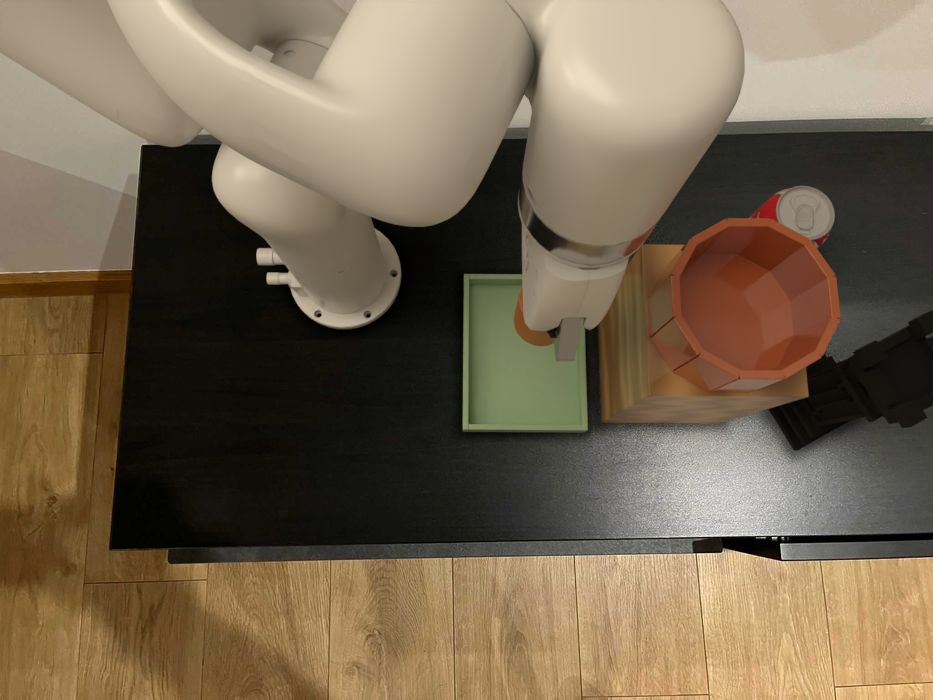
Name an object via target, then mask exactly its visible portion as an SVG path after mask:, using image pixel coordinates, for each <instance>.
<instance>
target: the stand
mask: <svg viewBox="0 0 933 700" xmlns="http://www.w3.org/2000/svg"><path fill="white" fill-rule="evenodd" d="M684 245H685V244H644V243H643V245H642V246H641V247H640V248H639V249H638V250H637V251H636V252H635V254H634V255H633V256H632V257H631V259H629V261H628V264H627V267H626V270H625V273H624V276H623V279H622V281H621V284H620V286H619V289H618V291H617V294H616V296H615V298H614V300H613V302H612V304H611V306H610V308H609V310H608V312H607V313H606V315H605V317H604V318H603V319H602V321H601V322H600V323H599V324H598V325H597V340H598V341H597V343H598V345H597V346H598V364H599V365H598V369H599V398H600V399H599V401H600V422H601V423H602V424H603V423H604V424H605V423H606V424H610V423H611V424H722V423H726V422H729V421H733V420H736V419H739V418H742V417H746V416H749V415H752V414H757V413H760V412H763V411H767V410H769V408H773V407H776V406H779V405H783V404H786V403H789V402H793V401H796V400H800V399H803V398H806V397H809V394H808V384H807V373H806V367H805V368H803V369H802V370H800V371H798V372H797V373H795V374H793V375H792V376H790V377H788V378H787V379H784V380H781V381H779V382H776V383H773V384H771V385H768V386H765V387H763V388H760V389H757V390H755V391H752V392H748V393H728V392H710V391H708V392H707V391H705V390H703V389H702V388H700V387H698V386H696V385H695V384H693V383H691V382H689V381H687V380H686V379H684V378H682V377H680V376H678V375H677V374H675V373H673V371H674V370H673V371H671V369H670V368H669V366H668V365H667V363H666V362H665V360H664V358H663V357H662V355H661V354H660V352H659V351H658V349H657V348H656V346H655V344H654V343H653V341H652V340H651V337H650V327H649V308H648V300H649V296H650V294H651V292H652V291H653V289H654V287H655V285H656V283H657V281H658V280H659V278H660V276H661V274H662V272H663V271H664V269H665V267H666V266H667V265H668V264H669V263H670V261H671V260H672V259H673V258H674V257H675V256H676V254H677V253H678V252H679V251H680V250H681V249H682V248H683V246H684Z"/></svg>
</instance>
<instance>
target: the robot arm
mask: <svg viewBox="0 0 933 700" xmlns="http://www.w3.org/2000/svg"><path fill="white" fill-rule="evenodd" d="M255 46H257V47H259V48H262V49H265V50H266V51H268V52H269V53H271V54H273V55H272V57H271V58H270V59H269V60H268V59H265V58H263V57H261V56H259V55H257V54H255V53H254V52H253V49H254V48H255ZM0 54H2V55H4V56H5V57H6V58H8V59H10V60H11V61H13V62H14V63H16V64H18V65H19V66H21V67H22V68H24V69H26V70H28V71H29V72H31V73H32V74H34V75H35V76H37V77H39V78H40V79H42V80H44V81H46V82H47V83H48V84H50V85H52V86H53V87H55V88H56V89H58V90H59V91H62V92H63V93H64V94H66V95H68V96H69V97H71V98H73V99H74V100H76V101H78V102H80V103H81V104H83V105H84V106H86V107H87V108H89V109H91V110H92V111H94V112H96V113H97V114H99V115H101V116H103V117H104V118H106V119H107V120H109V121H111V122H113V123H114V124H115V125H117V126H119V127H121V128H122V129H125V130H126V131H128V132H130V133H132V134H133V135H135V136H137V137H139V138H142V139H143V140H146V141H147V142H150V143H153V144H155V145H158V146H162V147H168V148H178V147H182V146H184V145H186V144H188V143H190V142H192V141H193V140H194V139H195V138H196V137H197V136H198V135H199V134H201V132H202V131H203V130H204V131H206V132H207V133H208V134H210V135H211V136H212V137H214V138H215V139H217V140H218V141H219V142H221V144H220V147H219V149H218V151H217V154H216V157H215V159H214V162H213V166H212V174H211V183H212V189H213V192H214V195H215V196H216V198H217V200H218V202H219V203H220V204H221V206H222V207H223V208H224V209H225V210H226V211H227V212H228V213H229V214H230V215H231V216H232V217H233V218H235V219H236V220H237V221H238V222H239V223H241V224H243V225H244V226H246V227H247V228H248V229H250V230H251V231H253V232H255V233H256V234H257V235H259V236H260V237H261V238H262V239H264V240H265V242H266V243H267V244H268V245H269V246H270V247H257V249H256V255H255V256H256V263H257V266H273V267H274V266H276V265H277V266H279V265H280V266H281V265H282V266H285V267H286V269H287V270H288V272H277V271H276V272H271V271H269V272H268V271H267V273H266V284H267V285H268V286H271V285H273V286H278V285H279V286H281V285H288V287H289V288H290V292H291V295H292V297H293V299H294V301H295V303H296V304H297V306H298V307H299V309H300V310H301V312H303V313H304V315H306V316H307V317H308V318H309V319H311V320H312V321H314V322H316V323H317V324H319V325H321V326H324V327H327V328H329V329H334V330H335V329H336V330H353V329H359V328H362V327H365V326H367V325H369V324H371V323H373V322H375V321H377V320H378V319H380V318H381V317H383V315H385V313H386V312H388V310H389V309H390V308H391V306H392V305H393V304H394V302H395V301H396V297H397V296H398V294H399V291H400V287H401V283H402V266H401V261H400V258H399V255H398V253H397V251H396V248H395V246H394V245H393V244H392V242H391V241H390V239H389V238H388V237H386V236H385V234H384V233H382V232H381V231H380V230H378V229H377V228H375V226H374V222H373V220H372V218H373V219H376V220H379V221H381V222H383V223H388V224H391V225H395V226H396V225H397V226H402V227H409V228H426V227H430V226H435V225H438V224H440V223H443V222H446V221H448V220H450V219H452V217H454V216H456V215H458V213H459V212H460V211H461V210H462V209H464V207H466V205H467V204H468V203H469V201H470V200H471V199H472V197H473V196H474V195H475V193H476V192H477V189H478V188H479V186H480V184H481V183H482V181H483V179H484V178H485V176H486V174H487V171H488V170H489V167H490V166H491V163H492V162H493V160H494V157H495V155H496V154H497V151H498V149H499V147H500V145H501V143H502V141H503V139H504V137H505V135H506V133H507V131H508V129H509V127H510V125H511V123H512V121H513V119H514V116H515V115H516V112H517V111H518V108H519V106H520V105H521V102H522V100H523V99H524V96H525V97H526V99H528V100H527V101H528V102H529V105H530V108H531V114H530V120H529V126H528V133H527V139H526V144H525V151H524V157H523V162H522V170H521V176H520V182H519V189H518V194H517V208H518V215H519V218H520V222H521V274H522V289H523V315H524V322H525V324H526V325H527V327H528V328H529V329H531V330H536V331H547V334H549V336H550V338H554V350H555V358H556V361H575V356H576V350H577V344H578V338H579V332H580V326H581V320H582V318H584V322H583V327H585V330H587V331H592V329H595V328H596V327H598V324H599V323H600V322H601V321H602V319H603V318H604V317H605V315H606V313H607V312H608V310H609V308H610V306H611V304H612V302H613V300H614V298H615V296H616V294H617V291H618V289H619V286H620V284H621V281H622V279H623V276H624V273H625V270H626V267H627V265H628V263H629V261H630V257H631V256H632V255H633V254H634V253H636V252H637V250H638V249H639V248H640V247H641V246H642V245H643V244H644V243H645V242H646V241H647V239H648V238H649V237H650V235H651V233H652V232H653V231H654V229H655V228H656V226H657V225H658V223H659V222H660V220H661V218H662V217H663V215H664V214H665V213H666V211H667V210H668V208H669V207H670V205H671V204H672V202H673V201H674V199H675V198H676V197H677V195H678V194H679V192H680V190H681V189H682V188H683V186H684V185H685V183H686V181H687V180H688V179H689V178H690V176H691V174H692V173H693V171H694V170H695V169H696V167H697V166H698V164H699V163H700V161H701V160H702V158H703V157H704V155H705V154H706V152H707V151H708V149H710V146H711V145H712V144H713V142H714V141H715V139H716V138H717V136H718V135H719V133H720V132H721V131H722V129H723V128H724V126H725V124H726V123H727V121H728V119H729V117H730V116H731V114H732V113H733V111H734V108H735V107H736V104H737V103H738V101H739V97H740V95H741V91H742V87H743V82H744V77H745V74H746V73H745V71H746V69H745V68H746V67H745V62H746V61H745V60H746V59H745V47H744V42H743V38H742V34H741V31H740V29H739V26H738V24H737V23H736V21H735V18H734V16H733V14H732V13H731V12H730V10H729V9H728V7H727V5H726V4H725V3H724V2H723V0H355V2H354V3H353V6H352V7H351V9H350V11H349V13H348V12H347V11H346V10H344V9H343V8H342V7H340V6H339V4H337V3H336V2H335V1H333V0H0ZM393 275H395V276H393ZM319 315H321V316H319ZM368 315H370V316H369V317H367V316H368Z"/></svg>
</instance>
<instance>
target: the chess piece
mask: <svg viewBox="0 0 933 700" xmlns="http://www.w3.org/2000/svg"><path fill="white" fill-rule="evenodd" d="M907 324H908V325H906V326H904V327H903V328H901V329H899V330H897V331H895V332H893V333H892V334H890V335H888V336H886V337H884V338H882V339H880V340H875V341H871V342H869V343H866V344H865V345H863V346H861V347H859V348H857V349H856V350H854V351H852V353H853V354H852V355H851V356H848V357H847V358H846V359H844V360H841V361H838V362H836V360H835V359H834V357H833V356H832V355H829V356H827V355H826V353H824V355H823V356H821V358H820V359H819V360H817V361H815V362H814V363H812V364H810V365H808V366H807V367H806V373H807V384H808V394H809V397H806V398H803V399H800V400H796V401H793V402H789V403H786V404H783V405H779V406H776V407H773V408H769V409H768V411H769V413H770V414H771V416H772V417H773V419H774V421H775V422H776V424H777V425H778V427H779V429H780V430H781V432H782V434H783V435H784V437H785V439H786V440H787V442H788V444H789V446H791V448H792V450H793V452H795V451H799V450H801V449H803V448H804V447H806V446H808V445H809V444H811V443H813V442H816V441H817V440H819V439H820V438H822V437H824V436H826V435H827V434H828V435H829V433H832V432H833V431H835V430H837V429H839V428H840V427H843V426H844V425H846V424H847V423H850V422H851V421H853V420H858V419H863V418H865V419H866V420H867V422H868V423H871V422H875V421H877V420H879V419H880V418H882V417H883V419H885V421H886V422H887V424H888V425H892V424H899V427H901V429H906V428H912V427H914V426H915V425H917V424H919V423H921V422H923V421H924V420H927V419H928V415H927V414H926V412H925V410H927V409H929V408H930V407H933V336H930V335H931V334H933V309H932V310H929V311H927V312H924V313H922V314H920V315H918V316H917V317H915V318H913V319H911V320H909V321H908V322H907ZM927 336H930V337H927Z"/></svg>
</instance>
